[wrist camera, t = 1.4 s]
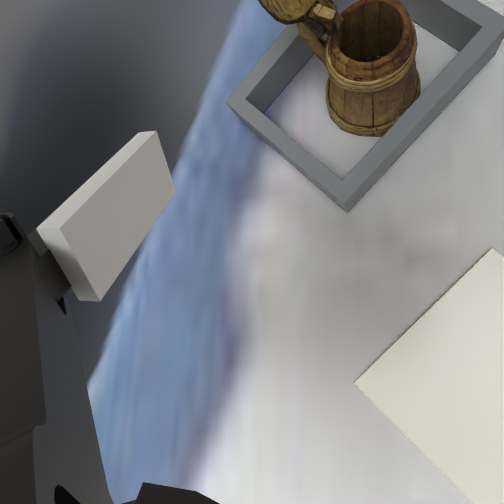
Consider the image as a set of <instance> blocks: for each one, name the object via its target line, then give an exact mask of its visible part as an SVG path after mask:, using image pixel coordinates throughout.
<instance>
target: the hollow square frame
mask: <svg viewBox="0 0 504 504" xmlns="http://www.w3.org/2000/svg"><path fill="white" fill-rule="evenodd" d="M332 1H333V2H334V4H335V5H336V7H337V12H338V13H339V14H341V13H342V12H343V11H344V10H345V9H346V8H348V7H349V6H350V5H351V4H353V3H355V2H357V1H359V0H332ZM398 1H400V2H401V3H402V4H403V6H404V7H405V8H406V9H407V12H408V14H409V16H410V17H411V20H412V21H413V22H415V23H417V24H418V25H420V26H421V27H423V28H424V29H426V30H427V31H429V32H430V33H432V34H433V35H435V36H436V37H438V38H440V39H441V40H443V41H444V42H446V43H447V44H449V45H450V46H452V47H453V48H455V49H456V50H458V51H459V52H460V53H459V54H458V55H457V56H456V57H455V58H454V59H453V60H452V61H451V62H450V63H449V65H448V66H447V67H446V68H445V69H444V70H443V71H442V72H441V73H440V74H439V76H438V77H437V78H436V79H435V80H434V81H433V82H432V83H431V84H430V85H429V86H428V88H427V89H426V90H425V91H424V92H423V93H422V94H421V95H420V96H419V97H418V99H417V100H416V101H415V102H414V103H413V104H412V105H411V106H410V107H409V108H408V110H407V111H406V112H405V113H404V114H403V115H402V116H401V117H400V118H399V119H398V120H397V122H396V123H395V124H394V125H393V126H392V127H391V128H390V129H389V130H388V131H387V133H386V134H385V135H384V136H383V137H382V138H381V139H380V140H379V141H378V142H377V143H376V145H375V146H374V147H373V148H372V149H371V150H370V151H369V152H368V153H367V154H366V156H365V157H364V158H363V159H362V160H361V161H360V162H359V163H358V164H357V165H356V166H355V168H354V169H353V170H352V171H351V172H350V173H349V174H348V175H347V176H346V177H345V179H344V180H343V181H342V180H341V179H340V178H339V177H338V176H336V175H335V174H334V173H333V172H332V171H331V170H329V169H328V168H327V167H326V166H325V165H323V164H322V163H321V162H320V161H319V160H317V159H316V158H315V157H314V156H313V155H311V154H310V153H309V152H308V151H307V150H305V149H304V148H303V147H302V146H301V145H300V144H298V143H297V142H296V141H295V140H294V139H292V138H291V137H290V136H289V135H288V134H286V133H285V132H284V131H283V130H282V129H280V128H279V127H278V126H277V125H276V124H274V123H273V122H272V121H271V120H270V119H268V118H267V117H266V116H265V115H264V114H263V113H264V112H265V111H266V110H267V109H268V107H269V106H270V105H271V104H272V103H273V102H274V100H275V99H276V98H277V97H278V96H279V94H280V93H281V92H282V91H283V90H284V89H285V87H286V86H287V85H288V84H289V83H290V81H291V80H292V79H293V78H294V77H295V75H296V74H297V73H298V72H299V71H300V70H301V68H302V67H303V66H304V65H305V64H306V62H307V61H308V60H309V59H310V58H311V56H312V55H313V54H314V52H313V51H312V50H311V49H310V48H309V46H308V45H307V44H306V43H305V41H304V40H303V39H302V37H301V35H300V33H299V31H298V30H297V25H296V24H289V25H288V26H287V27H286V29H285V30H284V31H283V32H282V33H281V35H280V36H279V37H278V38H277V40H276V41H275V42H274V43H273V44H272V46H271V47H270V48H269V49H268V51H267V52H266V53H265V54H264V55H263V57H262V58H261V59H260V60H259V62H258V63H257V64H256V65H255V66H254V68H253V69H252V70H251V71H250V73H249V74H248V75H247V76H246V77H245V79H244V80H243V81H242V82H241V84H240V85H239V86H238V87H237V88H236V90H235V91H234V92H233V93H232V94H231V96H230V97H229V98H228V99H227V101H226V104H227V105H228V106H229V107H230V108H231V109H232V111H233V112H234V113H235V114H236V115H237V116H238V118H239V119H240V120H241V121H242V122H243V123H244V124H245V125H247V126H248V127H249V128H250V129H251V130H252V131H254V132H255V133H256V134H257V135H258V136H259V137H260V138H262V139H263V140H264V141H265V142H266V143H267V144H269V145H270V146H271V147H272V148H273V149H274V150H276V151H277V152H278V153H279V154H280V155H281V156H283V157H284V158H285V159H286V160H287V161H288V162H289V163H291V164H292V165H293V166H294V167H295V168H296V169H298V170H299V171H300V172H301V173H302V174H303V175H305V176H306V177H307V178H308V179H309V180H310V181H311V182H313V183H314V184H315V185H316V186H317V187H318V188H320V189H321V190H322V191H323V192H324V193H325V194H327V195H328V196H329V197H330V198H331V199H332V200H333V201H335V202H336V203H337V204H338V205H339V206H340V207H342V208H343V209H344V210H345V211H346V212H347V213H348V212H349V211H350V210H351V208H352V207H353V206H354V205H355V204H356V203H357V202H358V201H359V200H360V199H361V198H362V197H363V196H364V194H365V193H366V192H367V191H368V190H369V189H370V188H371V187H372V186H373V185H374V184H375V183H376V182H377V181H378V179H379V178H380V177H381V176H382V175H383V174H384V173H385V172H386V171H387V170H388V169H389V168H390V167H391V165H392V164H393V163H394V162H395V161H396V160H397V159H398V158H399V157H400V156H401V155H402V154H403V153H404V152H405V150H406V149H407V148H408V147H409V146H410V145H411V144H412V143H413V142H414V141H415V140H416V139H417V138H418V136H419V135H420V134H421V133H422V132H423V131H424V130H425V129H426V128H427V127H428V126H429V125H430V124H431V123H432V121H433V120H434V119H435V118H436V117H437V116H438V115H439V114H440V113H441V112H442V111H443V110H444V109H445V107H446V106H447V105H448V104H449V103H450V102H451V101H452V100H453V99H454V98H455V97H456V96H457V95H458V93H459V92H460V91H461V90H462V89H463V88H464V87H465V86H466V85H467V84H468V83H469V82H470V81H471V80H472V78H473V77H474V76H475V75H476V74H477V73H478V72H479V71H480V70H481V69H482V68H483V67H484V66H485V64H486V63H487V62H488V61H489V60H490V59H491V58H492V57H493V56H494V55H495V53H496V51H497V49H498V47H499V45H500V44H501V42H502V40H503V38H504V17H503V16H502V15H500V14H498V13H497V12H495V11H493V10H492V9H490V8H488V7H487V6H485V5H484V4H482V3H480V2H479V1H477V0H398ZM327 36H328V35H327V34H324V35H323V36H322V38H323V39H324V40H326V39H327Z"/></svg>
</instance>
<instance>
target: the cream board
mask: <svg viewBox="0 0 504 504" xmlns="http://www.w3.org/2000/svg"><path fill="white" fill-rule="evenodd" d="M354 384H355V385H356V386H357V387H358V388H359V389H360V390H361V391H362V392H363V393H364V394H365V395H366V396H367V397H368V398H369V399H370V400H371V401H372V402H373V403H374V404H375V406H376V407H377V408H378V409H379V410H380V411H381V412H382V413H383V414H384V415H385V416H386V417H387V418H388V419H389V420H390V421H391V422H392V423H393V424H394V425H395V426H396V427H397V428H398V429H399V430H400V431H401V432H402V433H403V434H404V435H405V436H406V437H407V438H408V439H409V440H410V441H411V442H412V443H413V444H414V445H415V446H416V447H417V448H418V449H419V450H420V451H421V452H422V453H423V454H424V455H425V456H426V457H427V458H428V459H429V460H430V461H431V462H432V463H433V464H434V465H435V466H436V467H437V468H438V469H439V470H440V471H441V472H442V473H443V474H444V475H445V476H446V477H447V478H448V479H449V480H450V481H451V482H452V483H453V484H454V485H455V486H456V487H457V488H458V489H459V490H460V491H461V492H462V493H463V494H464V495H465V496H466V497H467V498H468V499H469V500H470V501H471V502H472V504H504V256H503V255H501V254H500V253H499V252H497V251H496V250H495V249H494V248H491V249H490V250H489V251H488V252H487V253H486V254H485V255H484V256H483V257H482V258H481V259H480V260H479V261H478V262H477V263H476V264H475V265H473V266H472V267H471V268H470V269H469V270H468V271H467V272H466V273H465V274H464V275H463V276H462V277H461V278H460V279H459V280H458V281H457V282H456V283H455V284H454V285H453V286H452V287H451V288H450V289H449V290H448V291H447V292H446V293H445V294H444V295H443V296H442V297H441V298H440V299H439V300H438V301H437V302H436V303H435V304H434V305H433V306H431V307H430V308H429V309H428V310H427V311H426V312H425V313H424V314H423V315H422V316H421V317H420V318H419V319H418V320H417V321H416V322H415V323H414V324H413V325H412V326H411V327H410V328H409V329H408V330H407V331H406V332H405V333H404V334H403V335H402V336H401V337H400V338H399V339H398V340H397V341H396V342H395V343H394V344H393V345H392V346H391V347H389V348H388V349H387V350H386V351H385V352H384V353H383V354H382V355H381V356H380V357H379V358H378V359H377V360H376V361H375V362H374V363H373V364H372V365H371V366H370V367H369V368H368V369H367V370H366V371H365V372H364V373H363V374H362V375H361V376H360V377H359V378H358V379H357V380H356V381H355V382H354Z"/></svg>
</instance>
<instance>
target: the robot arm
mask: <svg viewBox="0 0 504 504" xmlns="http://www.w3.org/2000/svg"><path fill="white" fill-rule="evenodd" d="M175 193H176V190H175V187H174V184H173V181H172V178H171V175H170V172H169V169H168V166H167V162H166V160H165V156H164V153H163V150H162V147H161V144H160V141H159V138H158V135H157V132H156V131H150V132H139V133H138V134H137V135H136V136H135V137H134V138H133V139H131V140H130V141H129V142H128V143H127V144H126V145H125V146H124V147H123V148H122V149H121V150H120V151H119V152H118V153H117V154H115V155H114V156H113V157H112V158H111V159H110V160H109V161H108V162H107V163H106V164H105V165H104V166H103V167H101V168H100V169H99V170H98V171H97V172H96V173H95V174H94V175H93V176H92V177H91V178H90V179H89V180H88V181H87V182H85V183H84V184H83V185H82V186H81V187H80V188H79V189H78V190H77V191H76V192H75V193H74V194H73V195H71V196H70V197H69V198H68V199H67V200H66V201H65V202H64V203H63V204H62V205H61V206H60V207H58V208H57V210H55V211H54V212H53V213H52V214H51V215H50V216H49V217H48V218H47V219H46V220H44V221H43V222H42V223H41V224H40V225H39V226H38V227H37V228H36V229H35V230H34V231H33V232H32V233H31V234H30V235H28V236H26V234H25V233H24V231H23V229H22V228H21V226H20V225H19V223H18V221H17V220H16V218H15V216H14V215H13V213H9V212H2V213H0V504H114V503H113V501H112V498H111V496H110V493H109V490H108V486H107V482H106V477H105V473H104V468H103V463H102V458H101V453H100V449H99V444H98V439H97V434H96V429H95V425H94V420H93V415H92V410H91V406H90V401H89V396H88V391H87V386H86V382H85V377H84V372H83V368H82V362H81V358H80V353H79V349H78V344H77V339H76V334H75V329H74V324H73V320H72V315H71V310H70V305H69V303H68V301H67V299H66V298H65V296H64V294H65V293H66V291H67V290H68V289H69V288H70V287H71V288H72V289H73V291H74V293H75V294H76V296H77V298H78V299H79V300H80V301H101V299H102V298H103V296H104V295H105V294H106V292H107V290H108V289H109V287H110V286H111V285H112V283H113V282H114V281H115V279H116V278H117V276H118V275H119V273H120V272H121V271H122V269H123V268H124V266H125V265H126V263H127V262H128V260H129V259H130V258H131V256H132V255H133V253H134V252H135V250H136V249H137V247H138V246H139V245H140V243H141V242H142V240H143V239H144V238H145V236H146V235H147V233H148V232H149V230H150V229H151V227H152V226H153V225H154V223H155V222H156V220H157V219H158V217H159V216H160V214H161V213H162V212H163V210H164V209H165V207H166V206H167V204H168V203H169V202H170V200H171V199H172V197H173V196H174V194H175ZM123 504H219V503H217V502H215V501H214V500H212V499H210V498H208V497H206V496H204V495H202V494H200V493H198V492H197V491H191V490H185V489H179V488H174V487H168V486H162V485H156V484H151V483H145V482H143V484H142V487H141V489H140V492H139V494H138V497H137V499H136V500H133V501H130V502H126V503H123Z"/></svg>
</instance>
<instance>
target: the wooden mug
mask: <svg viewBox="0 0 504 504" xmlns="http://www.w3.org/2000/svg"><path fill="white" fill-rule="evenodd" d="M258 1H259V2H260V4H261V5H262V7H263V8H264V9H265V10H266V11H267V12H268V13H269V14H270V15H271V16H272V17H273V18H274V19H275V20H276V21H278V22H280V23H283V24H285V25H288V24H296V25H297V30H298V31H299V33H300V35H301V37H302V39H303V40H304V41H305V43H306V44H307V45H308V46H309V48H310V49H311V50H312V51H313V52H314V53H315V54H316V56H317V57H318V58H319V59H320V60H321V61H322V62H323V63H324V65H325V66H326V68H327V70H328V73H329V78H328V82H327V85H326V103H327V106H328V110H329V114H330V117H331V118H332V120H333V121H334V122H335V123H336V124H337V125H338V126H339V127H340V129H342V130H345V131H347V132H350V133H352V134H356V135H359V136H383V135H385V134H386V133H387V131H388V130H389V129H390V128H391V127H392V126H393V125H394V124H395V123H396V122H397V120H398V119H399V118H400V117H401V116H402V115H403V114H404V113H405V112H406V111H407V110H408V108H409V107H410V106H411V105H412V104H413V103H414V102H415V101H416V100H417V99H418V97H419V96H420V93H421V92H420V78H419V74H418V71H417V69H416V62H415V54H416V49H417V37H416V31H415V27H414V25H413V22H412V20H411V17H410V16H409V14H408V12H407V9H406V8H405V7H404V6H403V4H402V3H401V2H400V1H398V0H359V1H357V2H355V3H353V4H351V5H350V6H349V7H348V8H346V9H345V10H344V11H343V12H342V13H341V14H339V13H338V12H337V7H336V5H335V4H334V2H333V1H332V0H258ZM324 34H327V35H328V36H327V40H324V39H323V38H322V36H323V35H324Z"/></svg>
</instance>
